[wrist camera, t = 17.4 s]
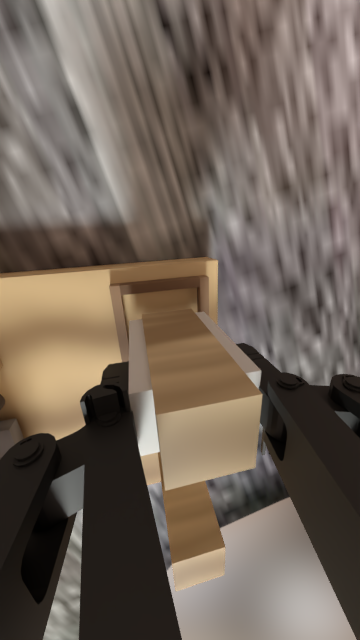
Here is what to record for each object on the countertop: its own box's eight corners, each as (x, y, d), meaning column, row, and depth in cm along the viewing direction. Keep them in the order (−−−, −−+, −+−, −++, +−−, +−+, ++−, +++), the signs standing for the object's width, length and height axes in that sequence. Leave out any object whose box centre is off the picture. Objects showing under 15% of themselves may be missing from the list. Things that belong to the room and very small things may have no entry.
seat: (-107, 281, 14) (-657, 389, 4) (206, 256, 17) (303, 283, 8) (4, 493, 21) (-102, 711, 11) (208, 445, 24) (259, 582, 15)
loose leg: (141, 314, 13) (155, 415, 6) (191, 308, 14) (262, 394, 6) (147, 358, 14) (165, 490, 7) (192, 351, 15) (255, 467, 7)
